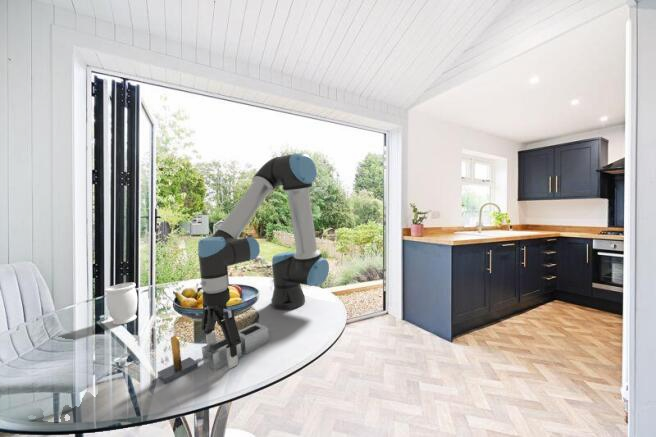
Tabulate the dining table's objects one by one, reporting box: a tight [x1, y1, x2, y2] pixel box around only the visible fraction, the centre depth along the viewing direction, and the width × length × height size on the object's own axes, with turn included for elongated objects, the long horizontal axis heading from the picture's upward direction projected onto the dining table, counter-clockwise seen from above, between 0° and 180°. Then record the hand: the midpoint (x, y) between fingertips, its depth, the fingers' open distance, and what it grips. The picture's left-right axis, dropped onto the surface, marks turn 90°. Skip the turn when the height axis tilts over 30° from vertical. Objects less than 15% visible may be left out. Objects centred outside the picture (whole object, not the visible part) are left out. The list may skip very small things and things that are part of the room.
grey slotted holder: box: [238, 322, 270, 355], centre depth 95 cm, size 9×6×5 cm
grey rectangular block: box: [201, 336, 243, 372], centre depth 87 cm, size 9×6×5 cm
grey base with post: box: [156, 335, 199, 385], centre depth 82 cm, size 9×5×10 cm, turn 140°
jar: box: [104, 282, 138, 326], centre depth 121 cm, size 11×10×15 cm
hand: (222, 359), depth 88 cm, fingers open, 11 cm apart
